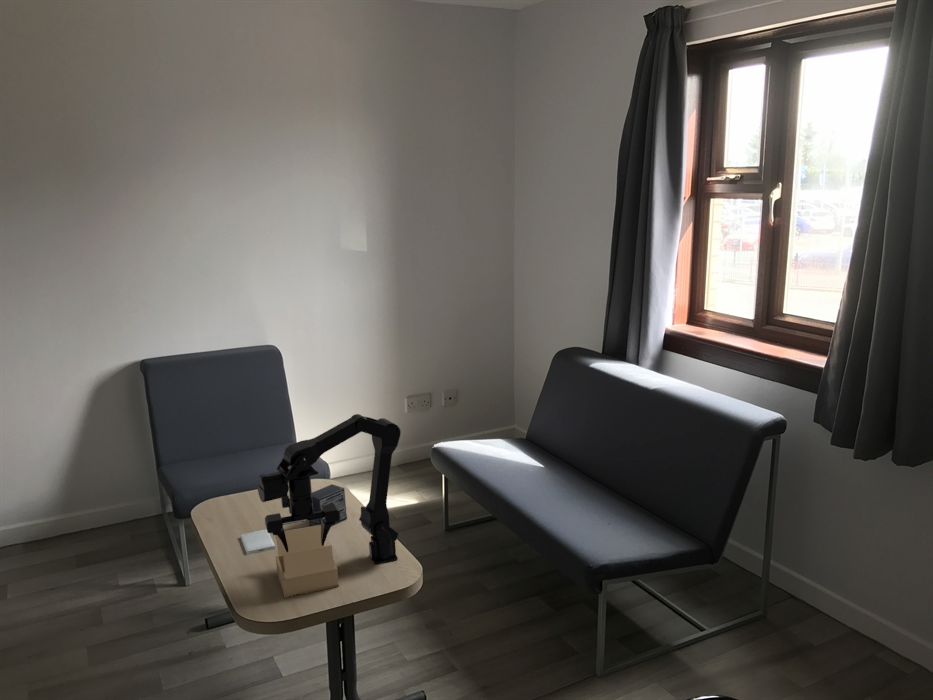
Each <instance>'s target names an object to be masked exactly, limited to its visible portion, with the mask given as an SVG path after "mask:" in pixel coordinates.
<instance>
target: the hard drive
mask: <svg viewBox="0 0 933 700" xmlns="http://www.w3.org/2000/svg"><path fill="white" fill-rule="evenodd" d="M240 540H241V542H242V545H243V548H244V550H245V553H246V555H247V554H248V555H252V553H253V554H257V553H261V552H267V551H270V550H271V549H272V550H276V549H275V548H276V546H277V545H276V544H275V542H274V540H273V538H272V536H271V533H268V532H267V529H262V530H255V531H252V532H247V533H242V534H240ZM266 550H267V551H266ZM272 550H271V551H272Z"/></svg>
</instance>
